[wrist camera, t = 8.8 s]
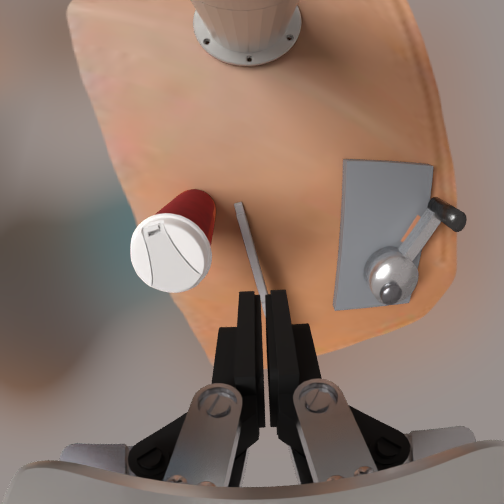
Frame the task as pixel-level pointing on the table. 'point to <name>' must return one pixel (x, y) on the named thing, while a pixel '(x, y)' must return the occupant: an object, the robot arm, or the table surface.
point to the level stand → (376, 220)
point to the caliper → (251, 252)
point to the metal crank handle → (407, 254)
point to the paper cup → (175, 243)
